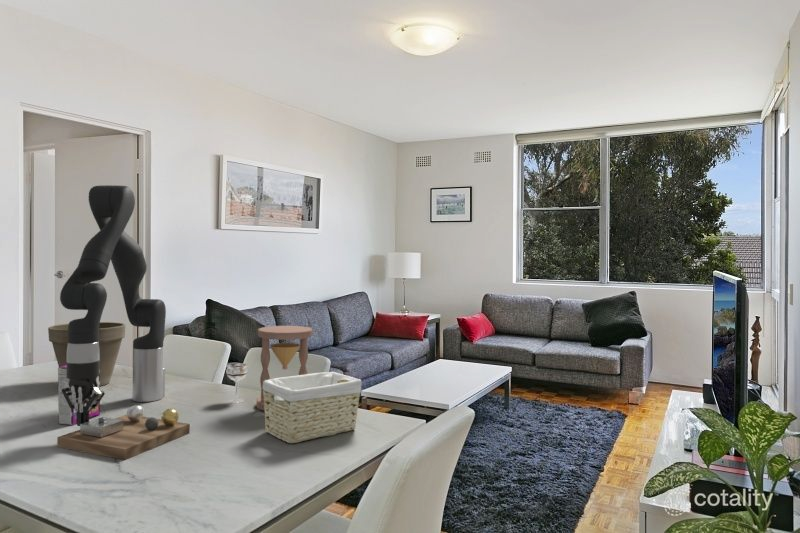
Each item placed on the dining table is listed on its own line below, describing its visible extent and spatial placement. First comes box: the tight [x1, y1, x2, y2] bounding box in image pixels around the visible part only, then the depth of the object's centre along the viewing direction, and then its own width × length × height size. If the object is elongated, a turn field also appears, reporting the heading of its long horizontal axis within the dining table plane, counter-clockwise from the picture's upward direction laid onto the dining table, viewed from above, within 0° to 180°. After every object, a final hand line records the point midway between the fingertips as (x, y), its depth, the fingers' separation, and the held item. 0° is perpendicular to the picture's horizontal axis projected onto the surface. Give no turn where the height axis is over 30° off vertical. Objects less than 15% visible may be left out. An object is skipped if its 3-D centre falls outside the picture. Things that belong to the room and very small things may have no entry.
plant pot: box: [47, 321, 126, 387], centre depth 208 cm, size 25×25×22 cm
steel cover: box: [79, 416, 124, 437], centre depth 146 cm, size 7×7×3 cm
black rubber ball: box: [145, 416, 158, 430], centre depth 150 cm, size 3×3×3 cm
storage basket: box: [263, 371, 362, 444], centre depth 159 cm, size 24×16×15 cm
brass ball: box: [161, 408, 180, 426], centre depth 154 cm, size 4×4×4 cm
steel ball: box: [126, 404, 145, 421], centre depth 157 cm, size 4×4×4 cm
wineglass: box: [226, 362, 248, 404], centre depth 189 cm, size 7×7×12 cm
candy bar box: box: [57, 363, 101, 426], centre depth 165 cm, size 11×5×16 cm, turn 168°
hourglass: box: [255, 325, 314, 412], centre depth 185 cm, size 18×18×25 cm
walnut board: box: [56, 414, 191, 461], centre depth 149 cm, size 22×22×2 cm
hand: (82, 425), depth 149 cm, fingers closed
